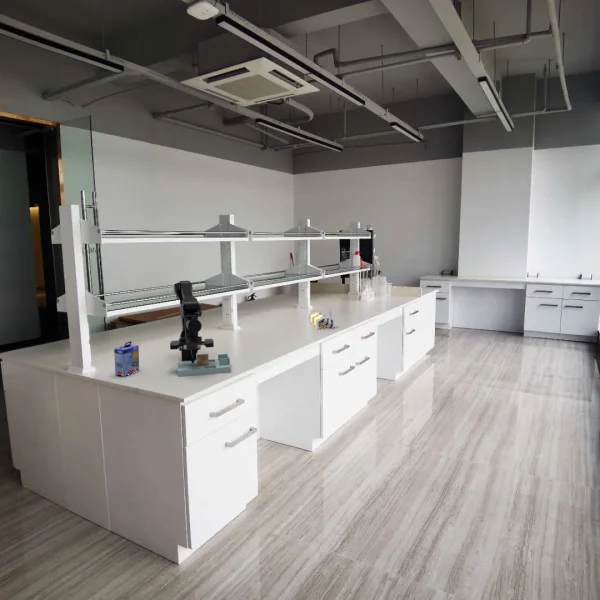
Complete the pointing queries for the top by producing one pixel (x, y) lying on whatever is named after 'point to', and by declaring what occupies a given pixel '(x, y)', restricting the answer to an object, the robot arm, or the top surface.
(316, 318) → the diorama
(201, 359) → the walnut block
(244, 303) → the top surface
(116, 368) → the ink cartridge box
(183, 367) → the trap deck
